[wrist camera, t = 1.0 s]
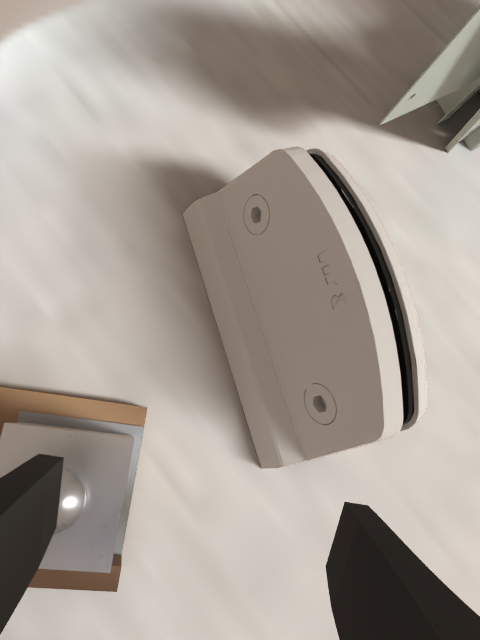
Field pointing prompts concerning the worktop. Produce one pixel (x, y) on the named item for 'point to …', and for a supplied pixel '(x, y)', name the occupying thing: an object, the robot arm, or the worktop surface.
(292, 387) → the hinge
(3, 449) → the metal cube with knob
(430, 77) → the bracket
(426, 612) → the robot arm
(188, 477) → the worktop surface
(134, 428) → the rail
